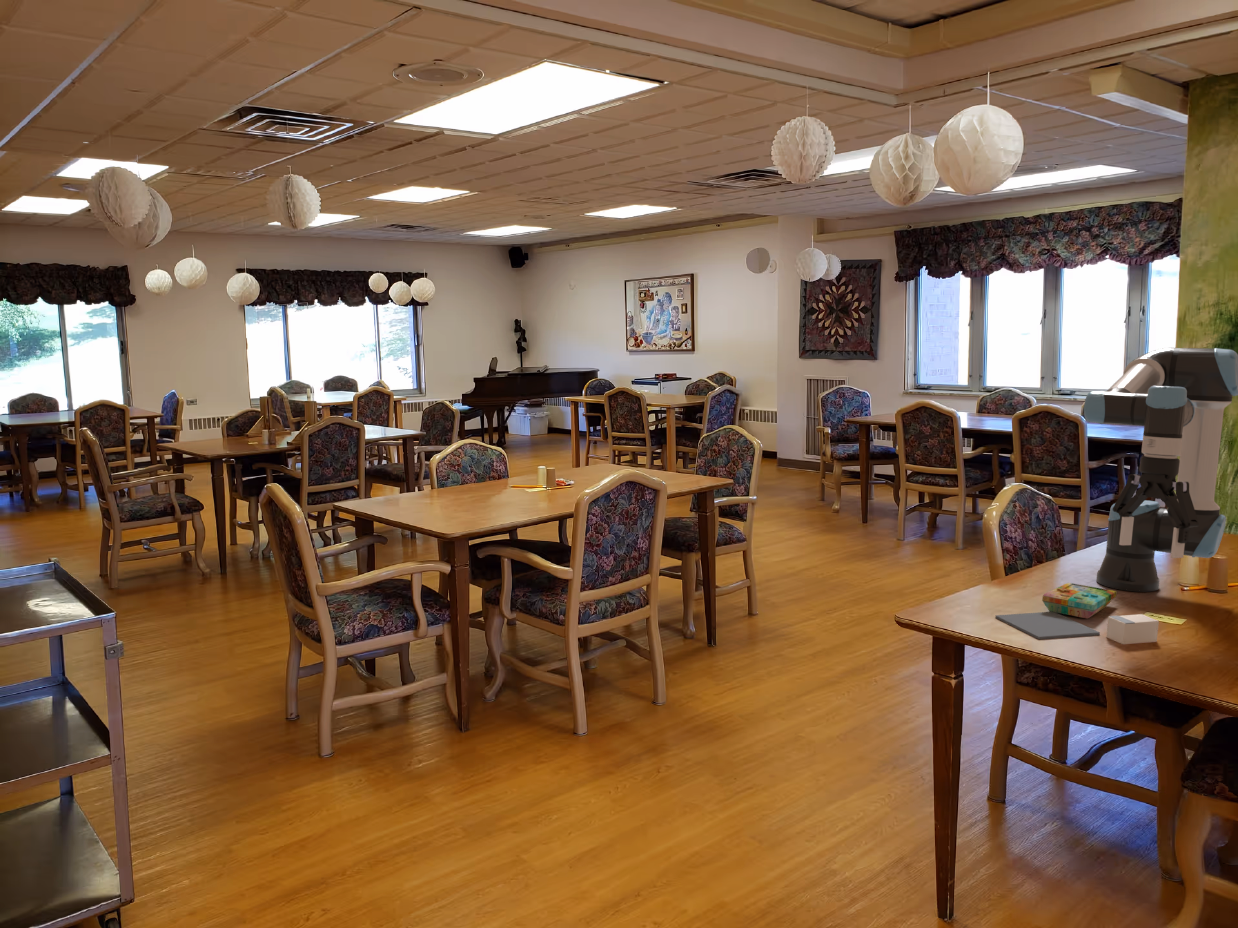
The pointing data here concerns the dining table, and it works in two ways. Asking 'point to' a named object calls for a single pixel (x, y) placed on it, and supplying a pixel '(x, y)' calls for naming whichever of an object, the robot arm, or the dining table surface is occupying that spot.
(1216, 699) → the dining table surface
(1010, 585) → the dining table surface
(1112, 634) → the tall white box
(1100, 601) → the puzzle game
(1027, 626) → the mat
